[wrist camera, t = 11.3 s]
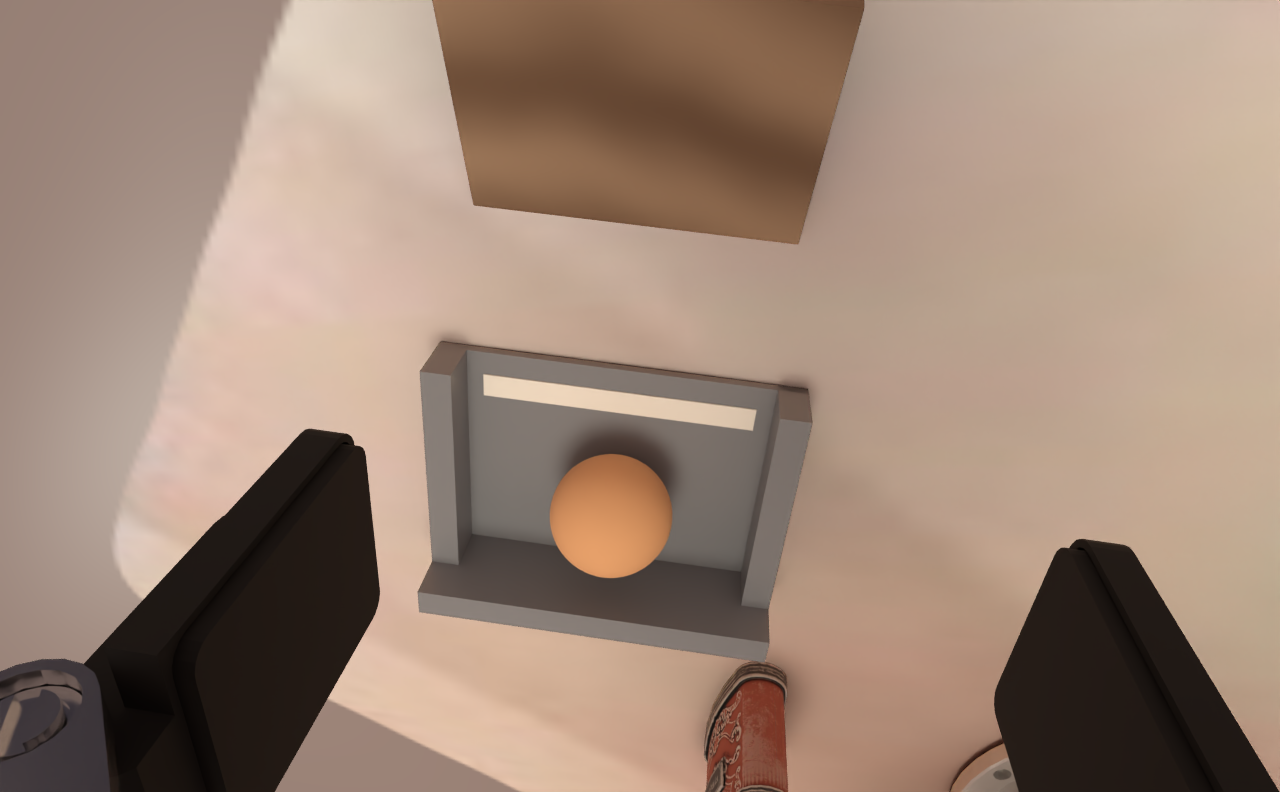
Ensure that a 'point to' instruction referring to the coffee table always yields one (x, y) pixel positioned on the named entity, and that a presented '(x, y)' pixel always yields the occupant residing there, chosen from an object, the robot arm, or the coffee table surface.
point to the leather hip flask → (748, 732)
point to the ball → (611, 515)
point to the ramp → (649, 107)
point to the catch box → (596, 425)
